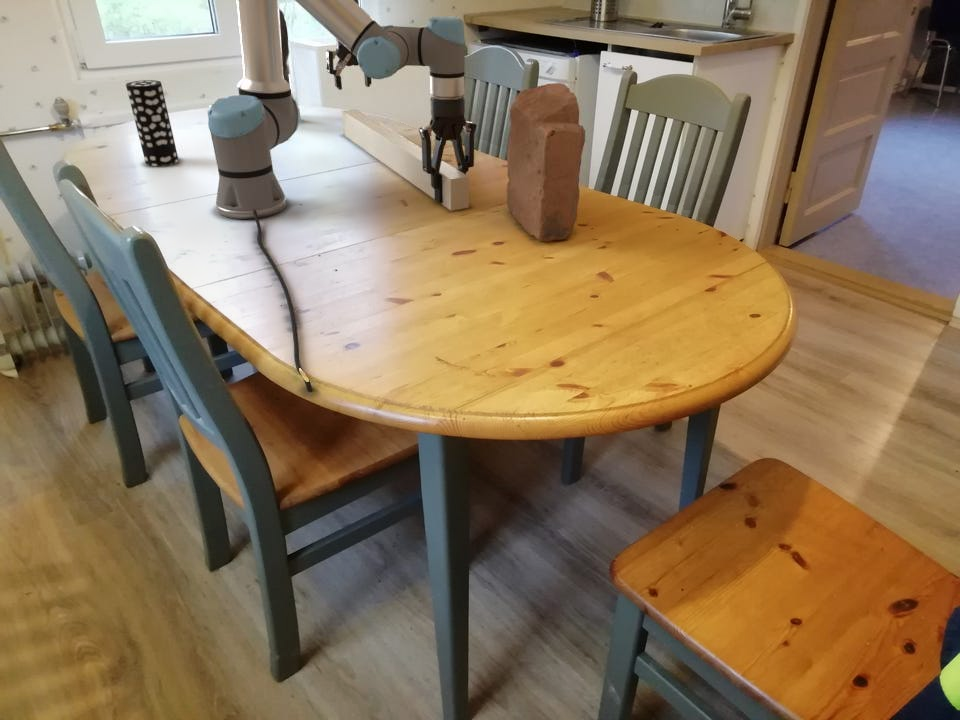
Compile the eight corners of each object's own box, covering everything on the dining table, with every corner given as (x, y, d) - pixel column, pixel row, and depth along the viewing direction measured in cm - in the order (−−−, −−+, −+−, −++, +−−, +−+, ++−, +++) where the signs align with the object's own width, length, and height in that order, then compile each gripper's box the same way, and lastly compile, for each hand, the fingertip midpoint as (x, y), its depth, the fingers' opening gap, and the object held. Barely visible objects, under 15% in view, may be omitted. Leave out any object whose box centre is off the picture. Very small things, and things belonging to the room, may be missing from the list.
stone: (590, 238, 144) (602, 97, 129) (540, 245, 141) (546, 100, 126) (549, 207, 161) (555, 80, 147) (504, 213, 158) (506, 82, 144)
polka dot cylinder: (184, 157, 190) (167, 80, 179) (169, 166, 183) (151, 87, 172) (155, 156, 190) (136, 79, 179) (139, 165, 183) (119, 86, 172)
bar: (468, 207, 160) (468, 176, 156) (450, 210, 158) (450, 179, 154) (358, 133, 213) (356, 109, 209) (344, 135, 211) (341, 110, 207)
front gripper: (475, 89, 157) (474, 189, 169) (403, 96, 149) (408, 200, 162) (491, 95, 151) (489, 198, 164) (417, 103, 144) (421, 210, 156)
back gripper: (367, 23, 197) (372, 83, 206) (319, 26, 191) (325, 87, 200) (377, 26, 192) (381, 88, 200) (328, 29, 186) (334, 92, 194)
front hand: (448, 199), depth 163 cm, fingers closed on bar, 5 cm apart
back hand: (353, 87), depth 200 cm, fingers open, 8 cm apart
